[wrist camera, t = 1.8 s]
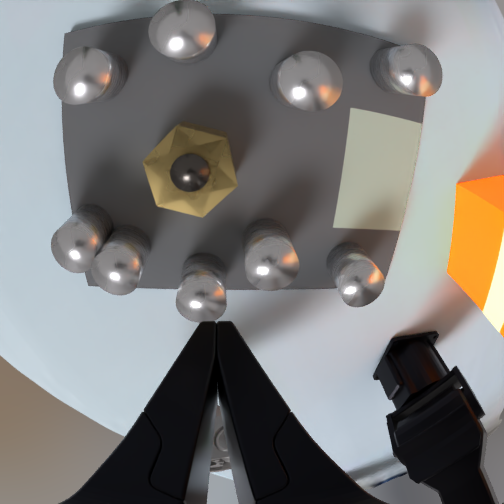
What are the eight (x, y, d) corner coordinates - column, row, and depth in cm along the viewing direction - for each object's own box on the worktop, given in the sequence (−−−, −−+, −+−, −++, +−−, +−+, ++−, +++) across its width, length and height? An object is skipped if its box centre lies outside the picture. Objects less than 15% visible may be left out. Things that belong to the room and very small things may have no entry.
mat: (423, 56, 14) (428, 56, 14) (379, 282, 23) (382, 286, 23) (68, 34, 12) (64, 33, 12) (90, 281, 21) (88, 285, 20)
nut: (221, 111, 15) (220, 113, 13) (240, 193, 18) (243, 208, 16) (147, 132, 16) (134, 138, 13) (171, 210, 18) (163, 227, 16)
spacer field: (411, 52, 14) (443, 49, 11) (367, 287, 23) (384, 315, 20) (64, 36, 12) (34, 29, 9) (88, 285, 20) (72, 315, 17)
